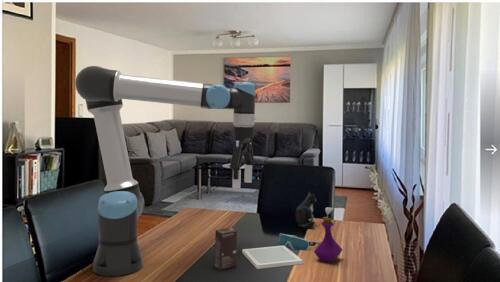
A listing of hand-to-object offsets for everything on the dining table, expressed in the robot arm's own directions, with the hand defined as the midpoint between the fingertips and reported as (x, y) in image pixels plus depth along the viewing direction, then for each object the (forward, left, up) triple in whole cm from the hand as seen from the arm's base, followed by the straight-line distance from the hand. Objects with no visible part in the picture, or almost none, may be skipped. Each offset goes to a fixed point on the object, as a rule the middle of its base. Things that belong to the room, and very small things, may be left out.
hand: (242, 185), depth 150 cm
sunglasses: (+23, +1, -24) cm, 34 cm away
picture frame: (+7, -11, -24) cm, 27 cm away
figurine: (+36, +21, -24) cm, 48 cm away
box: (-10, -14, -24) cm, 29 cm away
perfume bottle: (+25, -18, -24) cm, 39 cm away
